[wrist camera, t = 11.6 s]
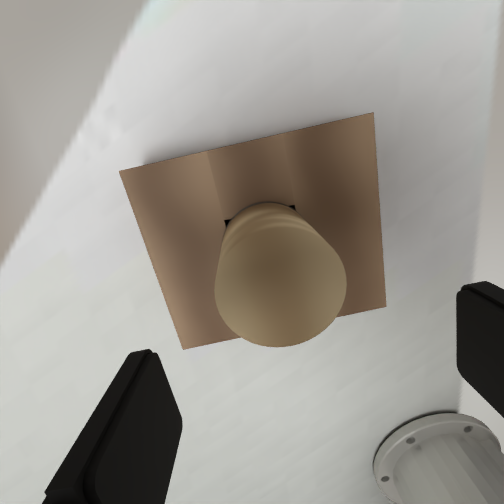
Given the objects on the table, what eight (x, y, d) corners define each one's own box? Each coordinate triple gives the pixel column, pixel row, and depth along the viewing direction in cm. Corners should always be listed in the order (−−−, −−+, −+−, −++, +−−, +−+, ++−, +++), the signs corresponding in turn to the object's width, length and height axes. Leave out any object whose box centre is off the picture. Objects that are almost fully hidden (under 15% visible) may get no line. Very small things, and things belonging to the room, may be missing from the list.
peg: (293, 185, 20) (339, 212, 11) (305, 257, 21) (353, 333, 12) (216, 202, 20) (197, 243, 11) (234, 273, 22) (231, 358, 13)
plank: (346, 120, 19) (373, 112, 15) (361, 281, 23) (386, 306, 19) (142, 167, 19) (118, 171, 16) (192, 317, 23) (183, 349, 19)
